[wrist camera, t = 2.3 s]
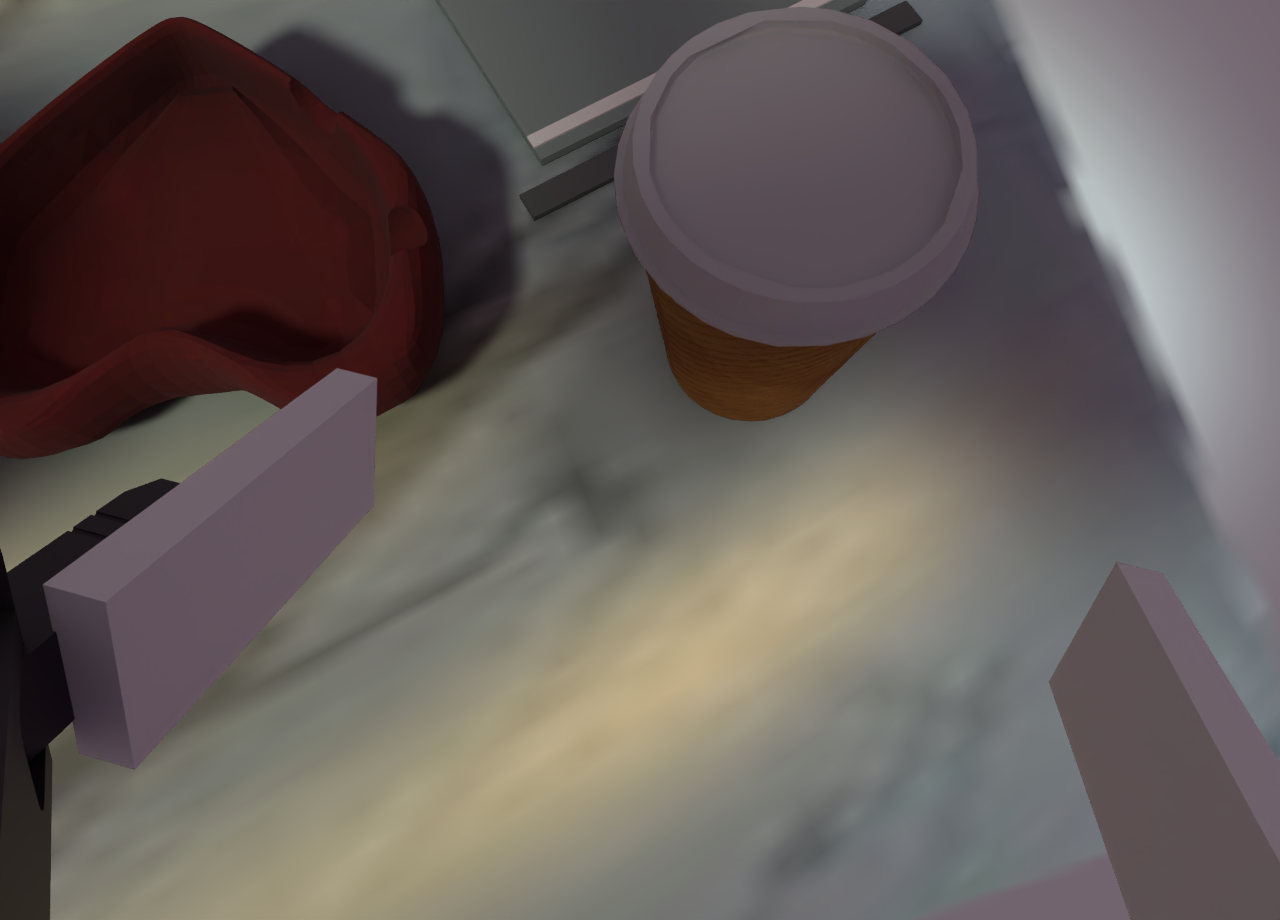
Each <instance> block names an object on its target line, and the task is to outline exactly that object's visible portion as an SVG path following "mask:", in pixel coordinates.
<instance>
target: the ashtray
mask: <svg viewBox="0 0 1280 920" xmlns="http://www.w3.org/2000/svg"><path fill="white" fill-rule="evenodd" d="M443 319H444V281H443V266H442V256H441V249H440V243H439V237H438V234H437V231H436V227H435V224H434V220H433V217H432V213H431V210H430V206H429V204H428V202H427V199H426V197H425V195H424V193H423V190H422V188H421V187H420V185H419V183H418V181H417V179H416V177H415V176H414V174H413V173H412V171H411V170H410V168H409V167H408V166H407V164H406V163H405V162H404V160H403V159H402V157H401V156H400V155H399V154H398V153H396V152H395V151H394V150H393V149H392V148H391V147H390V146H389V145H388V144H386V143H385V142H384V141H383V140H381V139H380V138H379V137H377V136H376V135H375V134H373V133H372V132H371V131H369V130H368V129H367V128H365V127H364V126H362V125H361V124H359V123H358V122H357V121H355V120H354V119H352V118H351V117H350V116H348V115H347V114H345V113H344V112H338V114H337V113H336V112H334V111H333V110H332V109H330V108H329V107H328V106H326V105H325V104H324V103H323V102H322V101H320V100H319V99H318V98H317V97H316V96H315V95H314V94H313V93H312V92H311V91H310V90H309V89H308V88H307V87H305V86H304V85H303V84H301V83H300V82H299V81H298V80H296V79H295V78H293V77H292V76H290V75H289V74H287V73H286V72H284V71H283V70H281V69H280V68H278V67H276V66H275V65H273V64H272V63H270V62H269V61H267V60H266V59H264V58H262V57H261V56H259V55H257V54H256V53H254V52H253V51H251V50H249V49H248V48H246V47H244V46H243V45H241V44H239V43H237V42H236V41H234V40H232V39H230V38H229V37H227V36H225V35H223V34H221V33H220V32H218V31H216V30H214V29H212V28H210V27H208V26H206V25H204V24H202V23H199V22H197V21H195V20H192V19H189V18H186V17H176V18H169V19H166V20H164V21H162V22H160V23H158V24H156V25H155V26H153V27H151V28H150V29H148V30H147V31H145V32H144V33H142V34H141V35H139V36H138V37H136V38H135V39H133V40H132V41H130V42H129V43H128V44H126V45H125V46H123V47H122V48H121V49H119V50H118V51H117V52H115V53H114V54H112V55H111V56H110V57H108V58H107V59H106V60H104V61H103V62H102V63H100V64H99V65H98V66H96V67H95V68H94V69H92V70H91V71H90V72H89V73H87V74H86V75H85V76H83V77H82V78H81V79H79V80H78V81H77V82H76V83H74V84H73V85H72V86H71V87H69V88H68V89H67V90H66V91H64V92H63V93H62V94H61V95H59V96H58V97H57V98H55V99H54V100H53V101H52V102H50V103H49V104H48V105H47V106H46V107H44V108H43V109H42V110H41V111H40V112H38V113H37V114H36V115H35V116H34V117H32V118H31V119H30V120H29V121H28V122H26V123H25V124H24V125H23V126H22V127H20V128H19V129H18V130H17V131H16V132H15V133H13V134H12V135H11V136H10V137H9V138H8V139H6V140H5V141H4V142H3V143H2V144H1V145H0V455H1V456H5V457H8V458H18V459H27V458H35V457H42V456H47V455H52V454H57V453H60V452H63V451H66V450H69V449H72V448H76V447H79V446H83V445H87V444H89V443H92V442H94V441H97V440H99V439H101V438H103V437H104V436H106V435H107V434H109V433H110V432H111V431H113V430H114V429H115V428H117V427H118V426H119V425H121V424H122V423H123V422H125V421H126V420H128V419H129V418H130V417H132V416H133V415H134V414H136V413H138V412H140V411H142V410H144V409H146V408H148V407H150V406H152V405H155V404H158V403H161V402H164V401H167V400H170V399H173V398H177V397H185V396H193V395H201V394H213V393H222V392H230V391H239V390H244V391H248V392H250V393H252V394H254V395H256V396H258V397H260V398H262V399H264V400H266V401H268V402H269V403H271V404H273V405H275V406H276V407H278V408H280V409H282V408H284V407H285V406H286V405H288V404H289V403H290V402H292V401H293V400H294V399H296V398H297V397H299V396H300V395H301V394H303V393H304V392H305V391H307V390H308V389H309V388H311V387H312V386H314V385H315V384H316V383H318V382H319V381H320V380H322V379H323V378H324V377H326V376H327V375H328V374H330V373H331V372H333V371H334V370H335V369H337V368H338V369H342V370H346V371H351V372H355V373H359V374H363V375H367V376H371V377H375V378H377V406H376V416H379V415H381V414H382V413H384V412H386V411H388V410H390V409H392V408H394V407H396V406H398V405H399V404H401V403H403V402H405V401H406V400H407V399H409V398H410V397H412V396H413V395H414V394H415V392H416V391H417V389H418V388H419V387H420V385H421V384H422V382H423V380H424V378H425V377H426V375H427V373H428V371H429V370H430V368H431V366H432V363H433V361H434V359H435V356H436V354H437V352H438V348H439V344H440V340H441V336H442V332H443Z"/></svg>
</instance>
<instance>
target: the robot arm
mask: <svg viewBox="0 0 1280 920" xmlns="http://www.w3.org/2000/svg"><path fill="white" fill-rule="evenodd" d="M376 406H377V378H375V377H371V376H367V375H363V374H359V373H355V372H351V371H346V370H342V369H338V368H337V369H335V370H334V371H333V372H331V373H330V374H328V375H327V376H326V377H324V378H323V379H322V380H320V381H319V382H318V383H316V384H315V385H314V386H312V387H311V388H309V389H308V390H307V391H305V392H304V393H303V394H301V395H300V396H299V397H297V398H296V399H294V400H293V401H292V402H290V403H289V404H288V405H286V406H285V407H284V408H282V409H281V410H280V411H278V412H277V413H275V414H274V415H273V416H271V417H270V418H269V419H267V420H266V421H265V422H263V423H262V424H260V425H259V426H258V427H256V428H255V429H254V430H252V431H251V432H250V433H248V434H247V435H246V436H244V437H243V438H241V439H240V440H239V441H237V442H236V443H235V444H233V445H232V446H231V447H229V448H228V449H226V450H225V451H224V452H222V453H221V454H220V455H218V456H217V457H216V458H214V459H213V460H212V461H210V462H209V463H207V464H206V465H205V466H203V467H202V468H201V469H199V470H198V471H197V472H195V473H194V474H192V475H191V476H190V477H188V478H187V479H186V480H184V481H183V482H182V483H177V482H173V481H169V480H165V479H162V478H161V479H159V480H156V481H153V482H150V483H148V484H145V485H142V486H139V487H137V488H134V489H131V490H128V491H126V492H124V493H122V494H121V495H119V496H118V497H116V498H115V499H113V500H112V501H110V502H109V503H108V504H106V505H105V506H103V507H102V508H100V509H99V510H97V511H96V515H95V516H93V515H90V516H89V517H87V518H86V519H84V520H83V521H81V522H80V523H79V524H77V525H76V526H74V527H73V531H72V532H70V531H67V532H65V533H64V534H63V535H61V536H60V537H58V538H57V539H55V540H54V541H52V542H51V543H49V544H48V545H47V546H45V547H44V548H42V549H41V550H39V551H38V552H36V553H35V554H33V555H32V556H31V557H29V558H28V559H26V560H25V561H23V562H22V563H20V564H19V565H17V566H16V567H15V568H13V569H12V570H10V571H9V572H6V568H5V564H4V560H3V556H2V552H1V549H0V920H50V879H51V812H52V758H51V754H50V750H49V746H48V744H49V743H50V742H51V741H52V740H53V739H54V738H55V737H56V736H58V735H59V734H60V733H61V732H62V731H63V730H64V729H65V728H66V727H67V726H68V725H69V724H70V723H71V722H72V721H73V726H74V731H75V735H76V740H77V744H78V749H79V754H83V755H86V756H90V757H93V758H96V759H100V760H103V761H107V762H110V763H113V764H117V765H120V766H124V767H127V768H130V769H134V770H135V769H136V768H137V767H138V766H139V764H140V763H141V762H142V761H143V760H144V759H145V758H146V757H147V756H148V754H149V753H150V752H151V751H152V750H153V749H154V748H155V747H156V746H157V745H158V743H159V742H160V741H161V740H162V739H163V738H164V737H165V736H166V735H167V734H168V732H169V731H170V730H171V729H172V728H173V727H174V726H175V725H176V724H177V722H178V721H179V720H180V719H181V718H182V717H183V716H184V715H185V714H186V713H187V711H188V710H189V709H190V708H191V707H192V706H193V705H194V704H195V703H196V701H197V700H198V699H199V698H200V697H201V696H202V695H203V694H204V693H205V692H206V690H207V689H208V688H209V687H210V686H211V685H212V684H213V683H214V682H215V680H216V679H217V678H218V677H219V676H220V675H221V674H222V673H223V672H224V671H225V669H226V668H227V667H228V666H229V665H230V664H231V663H232V662H233V661H234V660H235V658H236V657H237V656H238V655H239V654H240V653H241V652H242V651H243V650H244V648H245V647H246V646H247V645H248V644H249V643H250V642H251V641H252V640H253V639H254V637H255V636H256V635H257V634H258V633H259V632H260V631H261V630H262V629H263V627H264V626H265V625H266V624H267V623H268V622H269V621H270V620H271V619H272V618H273V616H274V615H275V614H276V613H277V612H278V611H279V610H280V609H281V608H282V606H283V605H284V604H285V603H286V602H287V601H288V600H289V599H290V598H291V597H292V595H293V594H294V593H295V592H296V591H297V590H298V589H299V588H300V587H301V585H302V584H303V583H304V582H305V581H306V580H307V579H308V578H309V577H310V576H311V574H312V573H313V572H314V571H315V570H316V569H317V568H318V567H319V566H320V565H321V563H322V562H323V561H324V560H325V559H326V558H327V557H328V556H329V555H330V553H331V552H332V551H333V550H334V549H335V548H336V547H337V546H338V545H339V544H340V542H341V541H342V540H343V539H344V538H345V537H346V536H347V535H348V534H349V532H350V531H351V530H352V529H353V528H354V527H355V526H356V525H357V524H358V523H359V521H360V520H361V519H362V518H363V517H364V516H365V515H366V514H367V513H368V511H369V510H370V509H371V508H372V507H373V506H374V484H375V445H376ZM1049 684H1050V687H1051V690H1052V692H1053V695H1054V698H1055V701H1056V704H1057V707H1058V710H1059V713H1060V716H1061V719H1062V721H1063V724H1064V727H1065V730H1066V733H1067V736H1068V739H1069V742H1070V745H1071V748H1072V751H1073V753H1074V756H1075V759H1076V762H1077V765H1078V768H1079V771H1080V774H1081V777H1082V780H1083V783H1084V785H1085V788H1086V791H1087V794H1088V797H1089V800H1090V803H1091V806H1092V809H1093V812H1094V815H1095V817H1096V820H1097V823H1098V826H1099V829H1100V832H1101V835H1102V838H1103V841H1104V844H1105V846H1106V849H1107V852H1108V855H1109V858H1110V861H1111V864H1112V867H1113V870H1114V873H1115V876H1116V878H1117V881H1118V884H1119V887H1120V890H1121V893H1122V896H1123V899H1124V902H1125V905H1126V908H1127V910H1128V913H1129V916H1130V919H1131V920H1280V763H1279V762H1278V760H1277V758H1276V757H1275V755H1274V753H1273V752H1272V750H1271V749H1270V747H1269V745H1268V744H1267V742H1266V740H1265V739H1264V737H1263V736H1262V734H1261V732H1260V731H1259V729H1258V727H1257V726H1256V724H1255V723H1254V721H1253V719H1252V718H1251V716H1250V714H1249V713H1248V711H1247V710H1246V708H1245V706H1244V705H1243V703H1242V701H1241V700H1240V698H1239V697H1238V695H1237V693H1236V692H1235V690H1234V688H1233V687H1232V685H1231V683H1230V682H1229V680H1228V679H1227V677H1226V675H1225V674H1224V672H1223V670H1222V669H1221V667H1220V666H1219V664H1218V662H1217V661H1216V659H1215V657H1214V656H1213V654H1212V653H1211V651H1210V649H1209V648H1208V646H1207V644H1206V643H1205V641H1204V640H1203V638H1202V636H1201V635H1200V633H1199V631H1198V630H1197V628H1196V627H1195V625H1194V623H1193V622H1192V620H1191V618H1190V617H1189V615H1188V614H1187V612H1186V610H1185V609H1184V607H1183V605H1182V604H1181V602H1180V600H1179V599H1178V597H1177V596H1176V594H1175V592H1174V591H1173V589H1172V587H1171V586H1170V584H1169V583H1168V581H1167V579H1166V578H1165V576H1164V574H1162V573H1158V572H1154V571H1150V570H1146V569H1142V568H1138V567H1134V566H1130V565H1126V564H1122V563H1118V562H1116V564H1115V566H1114V568H1113V570H1112V571H1111V573H1110V575H1109V577H1108V578H1107V580H1106V582H1105V584H1104V585H1103V587H1102V589H1101V591H1100V592H1099V594H1098V596H1097V598H1096V600H1095V601H1094V603H1093V605H1092V607H1091V608H1090V610H1089V612H1088V614H1087V615H1086V617H1085V619H1084V621H1083V622H1082V624H1081V626H1080V628H1079V630H1078V631H1077V633H1076V635H1075V637H1074V638H1073V640H1072V642H1071V644H1070V645H1069V647H1068V649H1067V651H1066V652H1065V654H1064V656H1063V658H1062V660H1061V661H1060V663H1059V665H1058V667H1057V668H1056V670H1055V672H1054V674H1053V675H1052V677H1051V679H1050V681H1049Z"/></svg>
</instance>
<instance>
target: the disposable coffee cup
mask: <svg viewBox="0 0 1280 920" xmlns="http://www.w3.org/2000/svg"><path fill="white" fill-rule="evenodd" d="M614 184H615V195H616V202H617V209H618V213H619V217H620V220H621V224H622V227H623V229H624V232H625V234H626V236H627V238H628V241H629V243H630V245H631V248H632V250H633V252H634V254H635V256H636V258H637V259H638V260H639V261H640V263H641V264H642V265H643V267H644V268H645V269H646V272H647V275H648V278H649V283H650V287H651V292H652V295H653V299H654V303H655V308H656V311H657V317H658V320H659V324H660V327H661V332H662V336H663V340H664V343H665V347H666V352H667V358H668V361H669V364H670V368H671V371H672V373H673V374H674V376H675V378H676V380H677V381H678V383H679V385H680V386H681V388H682V389H683V390H684V391H685V392H686V394H687V395H688V396H689V397H690V398H691V399H693V400H694V401H695V402H696V403H698V404H699V405H700V406H701V407H703V408H705V409H707V410H709V411H711V412H712V413H714V414H716V415H719V416H723V417H726V418H729V419H732V420H743V421H762V420H768V419H771V418H775V417H778V416H781V415H784V414H786V413H788V412H790V411H792V410H794V409H796V408H797V407H799V406H800V405H801V404H803V403H804V402H805V401H807V400H808V399H809V398H810V397H811V395H812V394H813V393H814V392H815V391H816V390H817V389H818V388H819V387H820V386H822V385H823V384H824V383H825V382H826V381H827V380H828V379H829V378H830V377H831V376H832V375H833V374H834V373H835V372H836V371H837V370H838V369H839V368H841V367H842V366H843V364H844V363H846V362H847V361H848V359H849V358H851V357H852V356H853V355H854V353H856V352H857V351H858V350H859V349H860V348H861V347H862V346H863V345H864V344H865V343H866V342H867V341H868V340H869V339H870V338H871V337H872V336H874V335H875V334H876V332H878V331H881V330H883V329H885V328H887V327H889V326H892V325H894V324H896V323H898V322H900V321H901V320H903V319H904V318H906V317H907V316H909V315H910V314H911V313H913V312H914V311H916V310H917V309H919V308H920V307H921V306H923V305H924V304H925V303H926V302H927V301H929V300H930V299H931V298H932V297H933V296H934V295H935V294H936V293H937V291H938V290H939V289H940V288H941V287H942V286H943V284H944V283H945V282H946V281H947V280H948V279H949V277H950V276H951V275H952V274H953V273H954V271H955V270H956V268H957V266H958V264H959V263H960V261H961V259H962V257H963V255H964V253H965V252H966V250H967V248H968V245H969V242H970V239H971V236H972V233H973V230H974V226H975V223H976V219H977V208H978V197H979V188H978V179H977V144H976V140H975V136H974V132H973V129H972V125H971V121H970V117H969V113H968V110H967V109H966V107H965V105H964V104H963V102H962V100H961V99H960V97H959V95H958V93H957V92H956V90H955V88H954V87H953V85H952V83H951V82H950V80H949V78H948V77H947V75H946V74H945V73H944V72H943V71H942V70H941V69H940V68H939V67H937V66H936V65H935V64H934V63H933V62H932V61H931V60H930V59H929V58H928V57H927V56H926V55H925V54H924V53H923V52H922V51H921V50H919V49H918V48H917V47H916V46H915V45H914V44H913V43H912V42H910V41H908V40H906V39H904V38H902V37H901V36H899V35H897V34H895V33H893V32H891V31H890V30H888V29H886V28H884V27H882V26H880V25H879V24H877V23H875V22H873V21H871V20H868V19H864V18H861V17H857V16H853V15H850V14H846V13H843V12H839V11H836V10H830V9H820V8H810V7H792V8H782V9H773V10H764V11H755V12H748V13H745V14H743V15H740V16H737V17H734V18H731V19H729V20H726V21H723V22H720V23H717V24H715V25H714V26H712V27H710V28H708V29H707V30H705V31H703V32H702V33H700V34H698V35H696V36H695V37H693V38H691V39H690V40H689V41H687V42H686V43H685V44H684V45H683V46H682V47H680V48H679V49H678V50H677V51H676V52H674V53H673V54H672V55H671V56H670V57H669V59H668V60H667V61H666V62H665V63H664V64H663V66H662V67H661V68H660V69H659V70H658V71H657V73H656V75H655V76H654V78H653V80H652V82H651V83H650V85H649V87H648V89H647V90H646V91H645V93H644V94H643V95H642V97H641V98H640V100H639V101H638V103H637V105H636V106H635V108H634V109H633V111H632V112H631V114H630V115H629V117H628V120H627V122H626V125H625V128H624V131H623V133H622V136H621V139H620V142H619V144H618V151H617V157H616V164H615V171H614Z"/></svg>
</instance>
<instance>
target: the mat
mask: <svg viewBox="0 0 1280 920" xmlns="http://www.w3.org/2000/svg"><path fill="white" fill-rule="evenodd" d="M436 1H437V3H438V4H439V6H440V7H441V9H442V10H443V12H444V14H445V15H446V17H447V18H448V20H449V21H450V23H451V24H452V26H453V28H454V29H455V31H456V32H457V34H458V35H459V37H460V38H461V40H462V42H463V43H464V45H465V46H466V48H467V49H468V51H469V52H470V54H471V56H472V57H473V59H474V60H475V62H476V63H477V65H478V67H479V68H480V70H481V71H482V73H483V74H484V76H485V77H486V79H487V81H488V82H489V84H490V85H491V87H492V88H493V90H494V91H495V93H496V95H497V96H498V98H499V99H500V101H501V102H502V104H503V105H504V107H505V109H506V110H507V112H508V113H509V115H510V116H511V118H512V119H513V121H514V123H515V124H516V126H517V127H518V129H519V130H520V132H521V133H522V135H523V137H524V138H525V140H526V141H527V143H528V144H529V146H530V147H531V149H532V151H533V152H534V154H535V155H536V157H537V158H538V160H539V162H540V163H541V165H542V166H543V165H545V164H547V163H549V162H551V161H553V160H555V159H557V158H559V157H561V156H563V155H565V154H567V153H569V152H571V151H573V150H575V149H577V148H579V147H581V146H583V145H585V144H587V143H589V142H591V141H593V140H595V139H597V138H599V137H601V136H603V135H605V134H607V133H609V132H611V131H613V130H615V129H617V128H619V127H621V126H623V125H625V124H626V122H627V120H628V117H629V115H630V114H631V112H632V111H633V109H634V108H635V106H636V105H637V103H638V101H639V100H640V98H641V97H642V95H643V94H644V93H645V91H646V90H647V89H648V87H649V85H650V83H651V82H652V80H653V78H654V76H655V75H656V73H657V71H658V70H659V69H660V68H661V67H662V66H663V64H664V63H665V62H666V61H667V60H668V59H669V57H670V56H671V55H672V54H673V53H674V52H676V51H677V50H678V49H679V48H680V47H682V46H683V45H684V44H685V43H686V42H687V41H689V40H690V39H691V38H693V37H695V36H696V35H698V34H700V33H702V32H703V31H705V30H707V29H708V28H710V27H712V26H714V25H715V24H717V23H720V22H723V21H726V20H729V19H731V18H734V17H737V16H740V15H743V14H745V13H748V12H755V11H764V10H773V9H782V8H792V7H810V8H820V9H830V10H836V11H839V12H843V13H846V14H847V13H849V12H851V11H853V10H855V9H857V8H859V7H861V6H863V5H864V4H865V0H436Z"/></svg>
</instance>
